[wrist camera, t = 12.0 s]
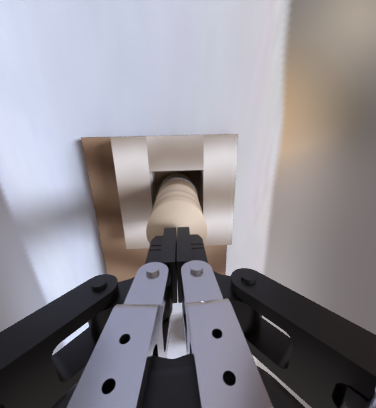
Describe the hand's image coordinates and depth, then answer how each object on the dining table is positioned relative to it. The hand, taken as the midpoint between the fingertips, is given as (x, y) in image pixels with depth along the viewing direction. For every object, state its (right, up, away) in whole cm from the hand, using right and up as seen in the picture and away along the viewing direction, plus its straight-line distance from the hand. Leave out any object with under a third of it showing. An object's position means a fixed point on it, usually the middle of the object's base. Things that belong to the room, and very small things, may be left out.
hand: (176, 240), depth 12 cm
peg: (-1, +4, +12) cm, 13 cm away
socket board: (-3, +1, +15) cm, 15 cm away
